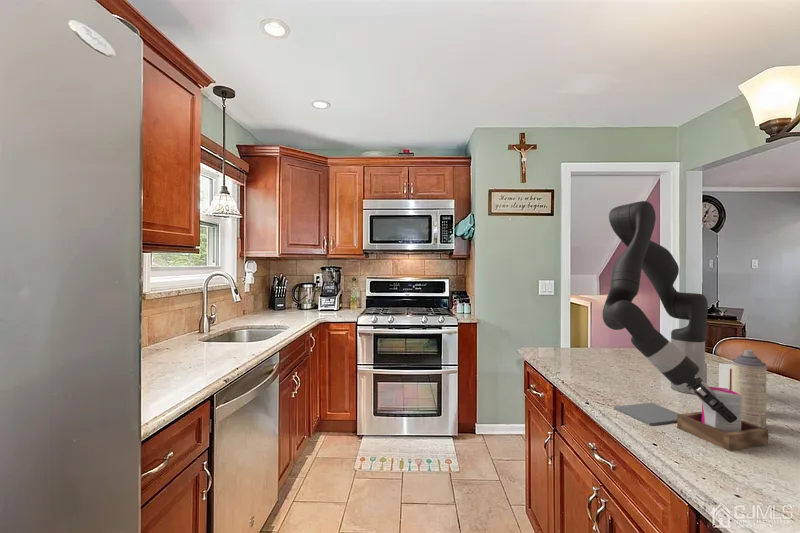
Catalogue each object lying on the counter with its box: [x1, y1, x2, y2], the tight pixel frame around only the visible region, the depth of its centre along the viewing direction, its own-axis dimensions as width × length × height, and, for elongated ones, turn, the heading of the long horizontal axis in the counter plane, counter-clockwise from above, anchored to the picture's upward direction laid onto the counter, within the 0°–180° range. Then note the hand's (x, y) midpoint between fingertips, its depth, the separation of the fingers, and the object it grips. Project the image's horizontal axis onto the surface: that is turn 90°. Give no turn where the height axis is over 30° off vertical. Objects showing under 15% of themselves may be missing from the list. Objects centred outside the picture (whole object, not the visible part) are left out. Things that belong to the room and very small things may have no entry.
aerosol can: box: [731, 349, 768, 429], centre depth 100 cm, size 7×7×20 cm
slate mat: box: [613, 402, 680, 426], centre depth 107 cm, size 14×12×1 cm
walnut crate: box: [676, 411, 769, 451], centre depth 93 cm, size 12×12×4 cm
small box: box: [718, 363, 732, 390], centre depth 110 cm, size 8×6×13 cm
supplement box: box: [701, 386, 742, 433], centre depth 93 cm, size 6×6×12 cm
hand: (728, 415), depth 93 cm, fingers closed on supplement box, 7 cm apart
